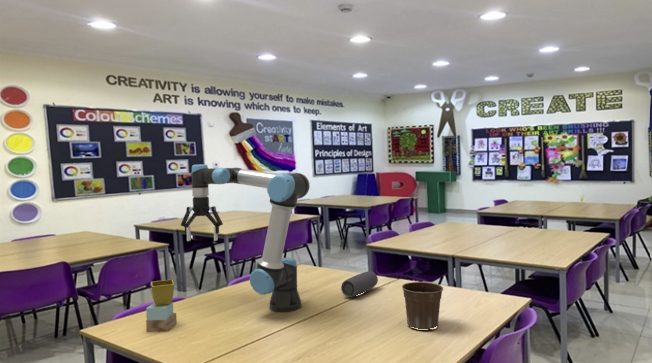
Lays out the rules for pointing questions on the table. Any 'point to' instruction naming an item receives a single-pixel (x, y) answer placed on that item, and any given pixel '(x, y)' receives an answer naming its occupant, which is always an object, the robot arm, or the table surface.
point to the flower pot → (162, 292)
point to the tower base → (161, 324)
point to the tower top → (159, 311)
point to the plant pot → (422, 304)
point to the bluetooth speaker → (359, 283)
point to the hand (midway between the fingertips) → (202, 240)
